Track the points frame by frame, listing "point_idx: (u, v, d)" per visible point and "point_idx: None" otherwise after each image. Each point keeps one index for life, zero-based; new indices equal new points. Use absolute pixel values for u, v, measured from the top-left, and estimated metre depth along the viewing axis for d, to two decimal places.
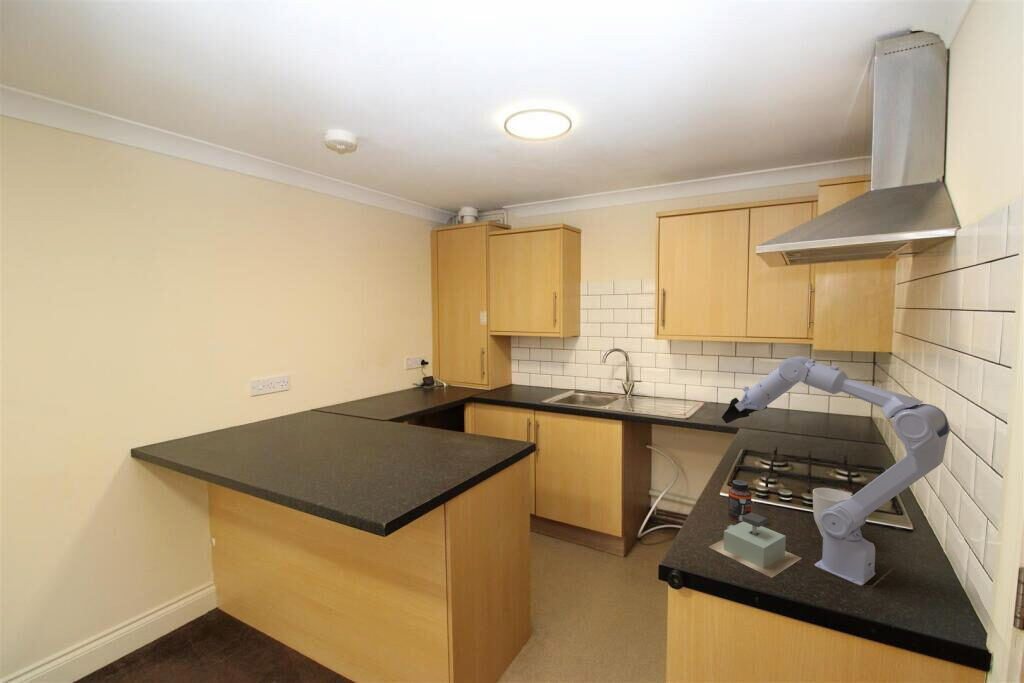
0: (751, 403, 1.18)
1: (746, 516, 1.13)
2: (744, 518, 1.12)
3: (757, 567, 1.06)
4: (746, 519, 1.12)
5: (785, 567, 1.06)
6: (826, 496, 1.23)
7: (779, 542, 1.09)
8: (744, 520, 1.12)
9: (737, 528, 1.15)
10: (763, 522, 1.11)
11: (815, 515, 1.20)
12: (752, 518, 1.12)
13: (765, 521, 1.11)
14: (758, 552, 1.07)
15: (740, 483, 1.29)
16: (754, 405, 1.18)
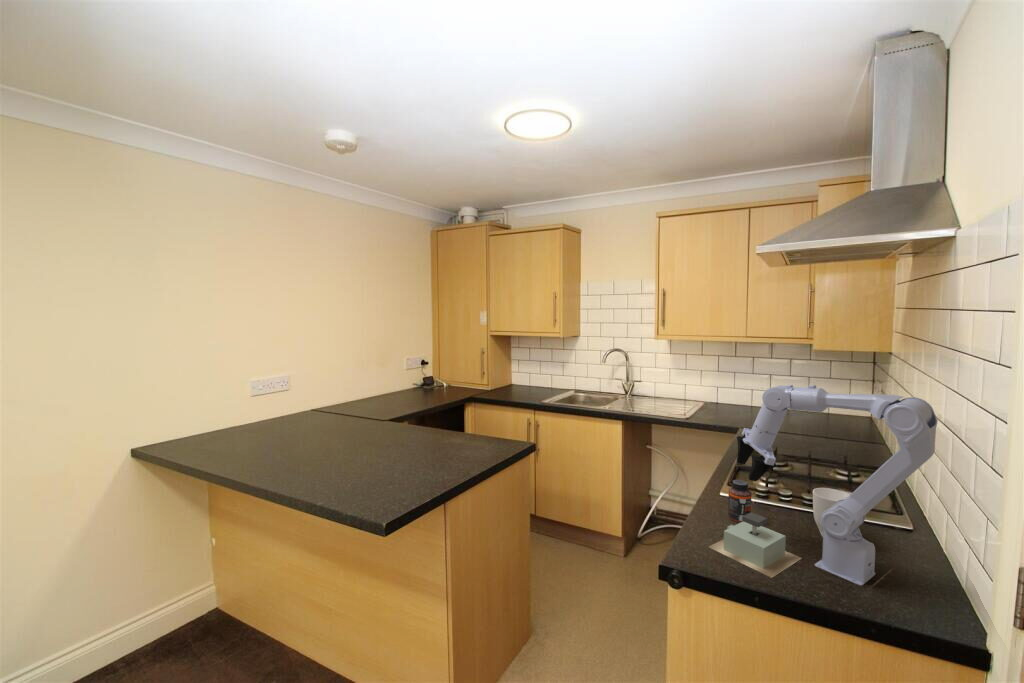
0: (766, 450, 1.16)
1: (746, 516, 1.13)
2: (744, 518, 1.12)
3: (757, 567, 1.06)
4: (746, 519, 1.12)
5: (785, 567, 1.06)
6: (826, 496, 1.23)
7: (779, 542, 1.09)
8: (744, 520, 1.12)
9: (737, 528, 1.15)
10: (763, 522, 1.11)
11: (815, 515, 1.20)
12: (752, 518, 1.12)
13: (765, 521, 1.11)
14: (758, 552, 1.07)
15: (740, 483, 1.29)
16: (768, 449, 1.16)
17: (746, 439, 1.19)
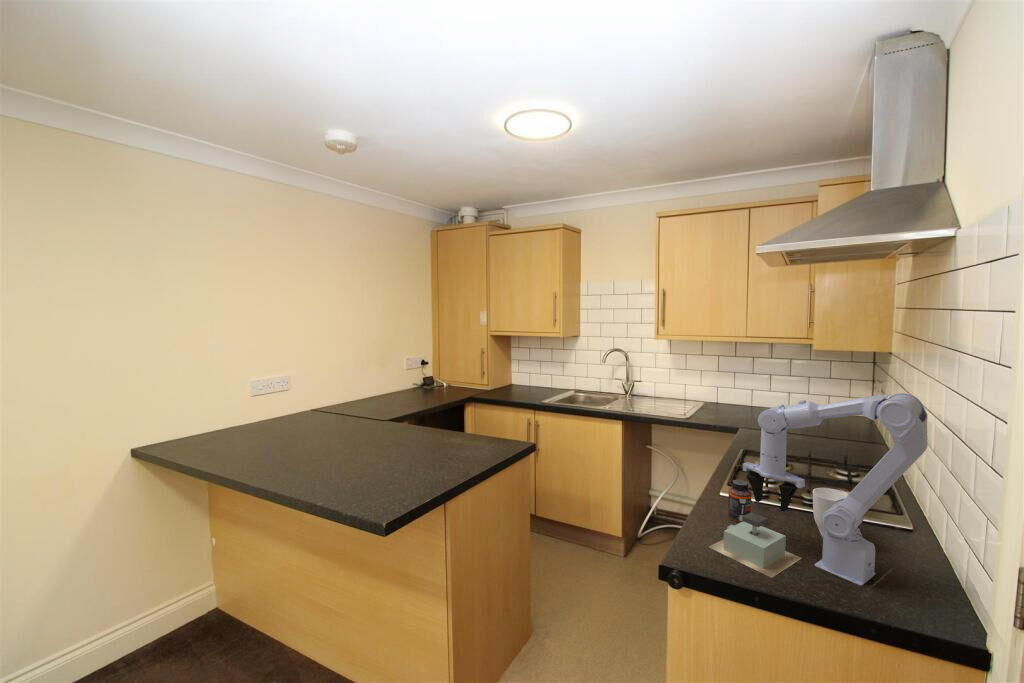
0: (785, 475, 1.13)
1: (746, 516, 1.13)
2: (744, 518, 1.12)
3: (757, 567, 1.06)
4: (746, 519, 1.12)
5: (785, 567, 1.06)
6: (826, 496, 1.23)
7: (779, 542, 1.09)
8: (744, 520, 1.12)
9: (737, 528, 1.15)
10: (763, 522, 1.11)
11: (815, 515, 1.20)
12: (752, 518, 1.12)
13: (765, 521, 1.11)
14: (758, 552, 1.07)
15: (740, 483, 1.29)
16: (786, 473, 1.14)
17: (764, 473, 1.14)
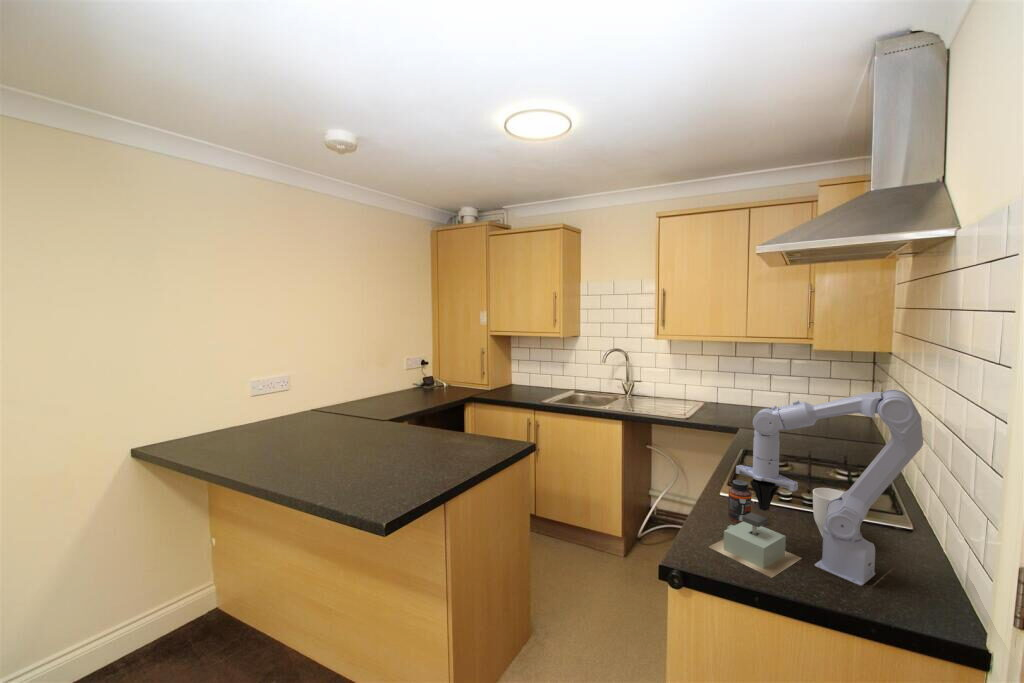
0: (779, 477, 1.11)
1: (746, 516, 1.13)
2: (744, 518, 1.12)
3: (757, 567, 1.06)
4: (746, 519, 1.12)
5: (785, 567, 1.06)
6: (826, 496, 1.23)
7: (779, 542, 1.09)
8: (744, 520, 1.12)
9: (737, 528, 1.15)
10: (763, 522, 1.11)
11: (815, 515, 1.20)
12: (752, 518, 1.12)
13: (765, 521, 1.11)
14: (758, 552, 1.07)
15: (740, 483, 1.29)
16: (779, 476, 1.12)
17: (756, 476, 1.12)
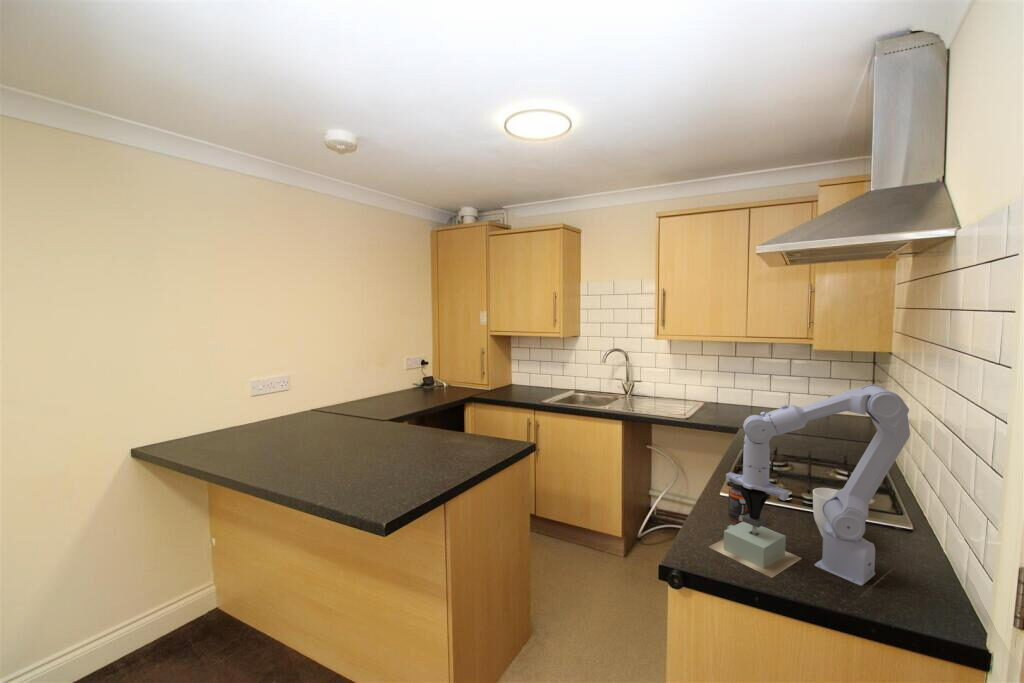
0: (769, 486, 1.09)
1: (746, 516, 1.13)
2: (744, 518, 1.12)
3: (757, 567, 1.06)
4: (746, 519, 1.12)
5: (785, 567, 1.06)
6: (826, 496, 1.23)
7: (779, 542, 1.09)
8: (744, 520, 1.12)
9: (737, 528, 1.15)
10: (763, 522, 1.11)
11: (815, 515, 1.20)
12: None
13: (765, 521, 1.11)
14: (758, 552, 1.07)
15: None
16: (769, 484, 1.10)
17: (747, 484, 1.10)
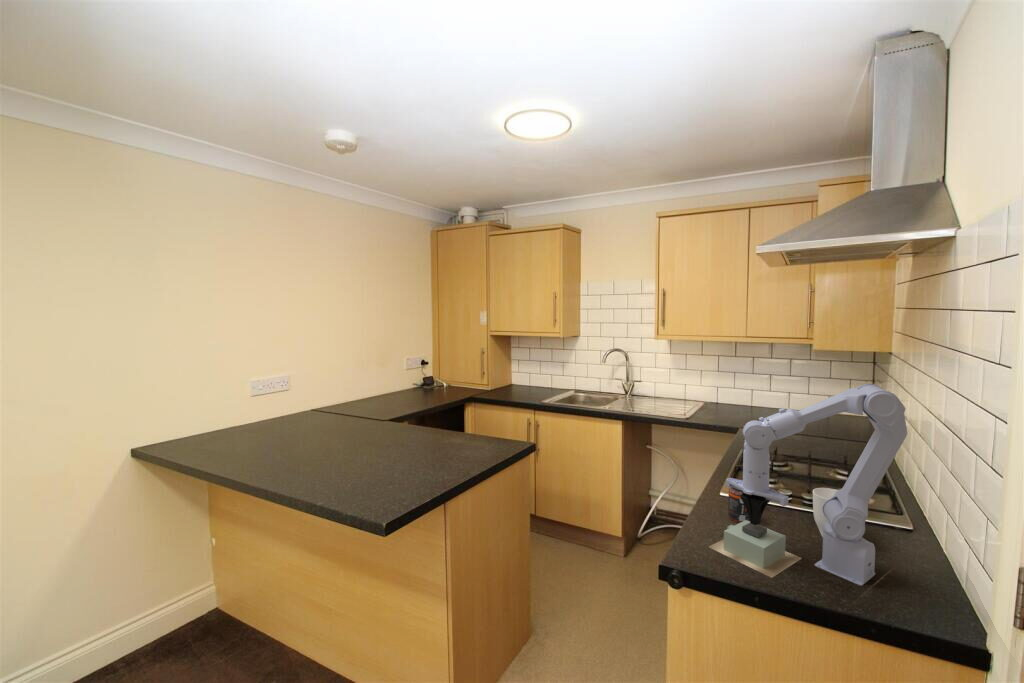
0: (769, 491, 1.09)
1: (746, 526, 1.13)
2: (744, 528, 1.12)
3: (757, 567, 1.06)
4: (746, 529, 1.12)
5: (785, 567, 1.06)
6: (826, 496, 1.23)
7: (779, 542, 1.09)
8: (744, 530, 1.12)
9: (737, 528, 1.15)
10: (763, 532, 1.11)
11: (815, 515, 1.20)
12: (752, 528, 1.12)
13: (765, 531, 1.11)
14: (758, 552, 1.07)
15: None
16: (769, 490, 1.10)
17: (747, 490, 1.10)
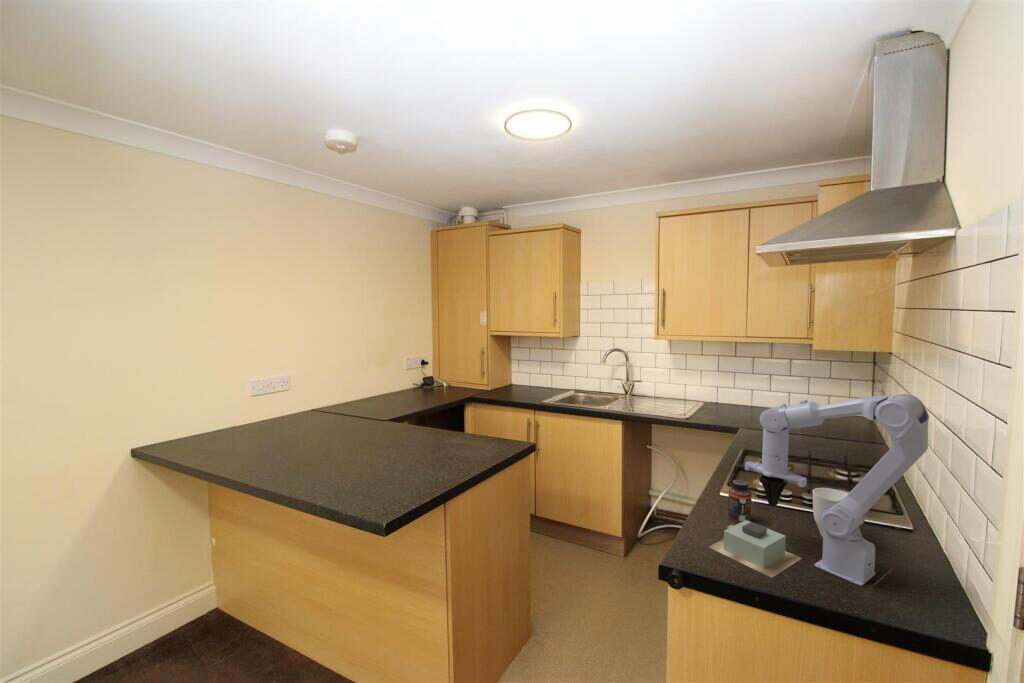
0: (787, 474, 1.14)
1: (746, 526, 1.13)
2: (744, 528, 1.12)
3: (757, 567, 1.06)
4: (746, 529, 1.12)
5: (785, 567, 1.06)
6: (826, 496, 1.23)
7: (779, 542, 1.09)
8: (744, 530, 1.12)
9: (737, 528, 1.15)
10: (763, 532, 1.11)
11: (815, 515, 1.20)
12: (752, 528, 1.12)
13: (765, 531, 1.11)
14: (758, 552, 1.07)
15: (740, 483, 1.29)
16: (787, 472, 1.15)
17: (766, 472, 1.15)
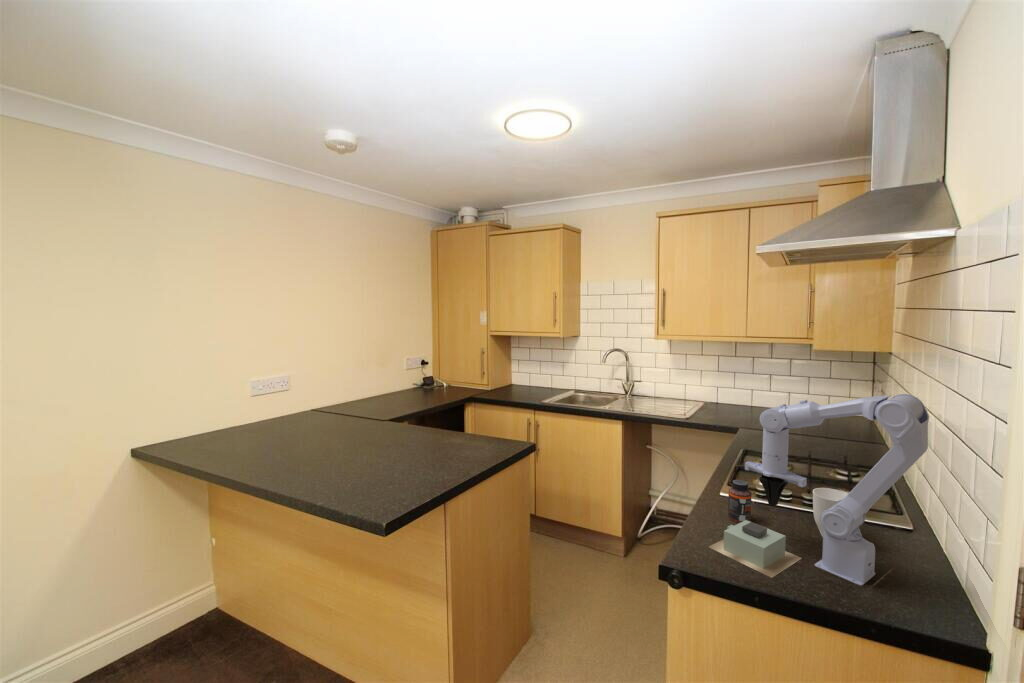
0: (787, 474, 1.14)
1: (746, 526, 1.13)
2: (744, 528, 1.12)
3: (757, 567, 1.06)
4: (746, 529, 1.12)
5: (785, 567, 1.06)
6: (826, 496, 1.23)
7: (779, 542, 1.09)
8: (744, 530, 1.12)
9: (737, 528, 1.15)
10: (763, 532, 1.11)
11: (815, 515, 1.20)
12: (752, 528, 1.12)
13: (765, 531, 1.11)
14: (758, 552, 1.07)
15: (740, 483, 1.29)
16: (787, 472, 1.15)
17: (766, 472, 1.15)
